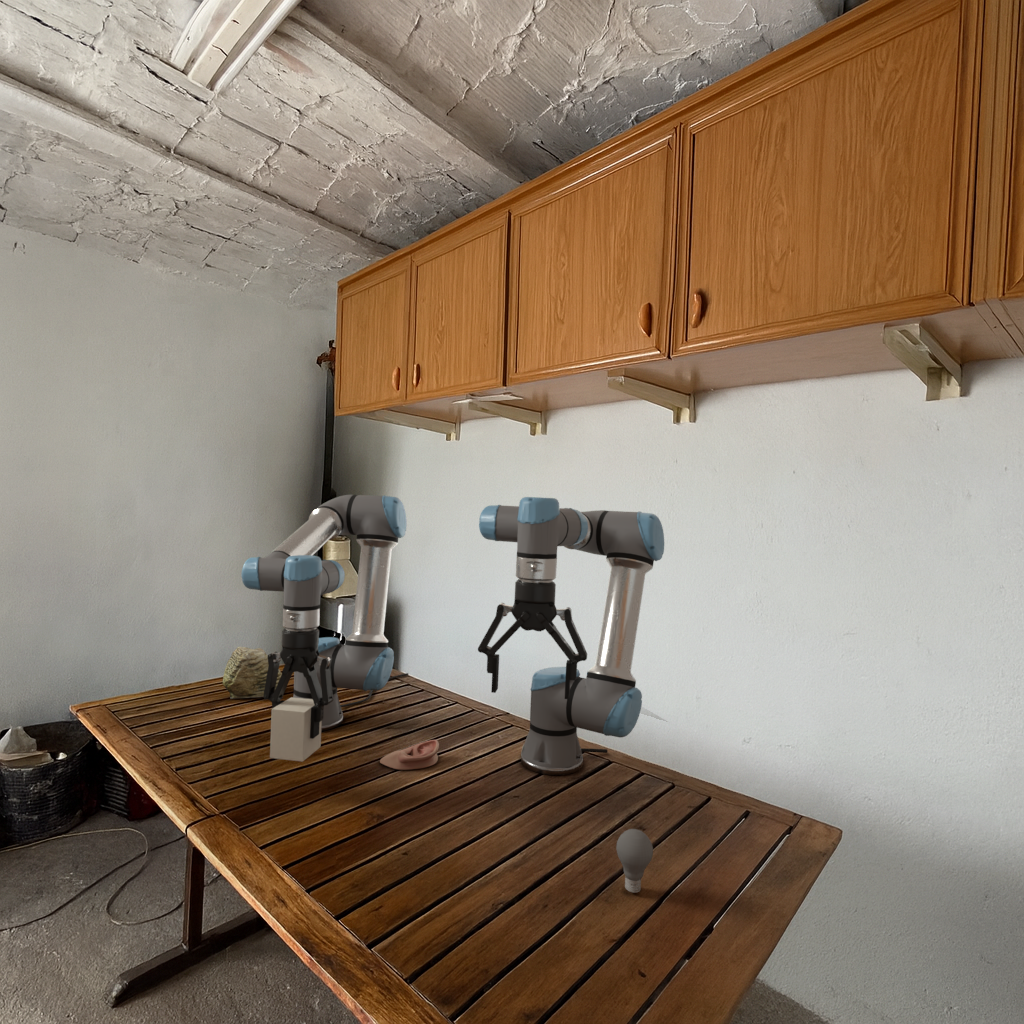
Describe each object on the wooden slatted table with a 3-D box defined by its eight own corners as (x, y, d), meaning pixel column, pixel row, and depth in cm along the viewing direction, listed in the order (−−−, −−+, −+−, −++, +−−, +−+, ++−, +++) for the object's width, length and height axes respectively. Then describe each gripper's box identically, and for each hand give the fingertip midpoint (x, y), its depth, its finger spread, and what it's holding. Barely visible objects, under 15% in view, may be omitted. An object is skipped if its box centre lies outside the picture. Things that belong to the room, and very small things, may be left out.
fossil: (218, 695, 195) (220, 647, 195) (278, 685, 208) (279, 640, 207) (228, 703, 189) (230, 653, 188) (289, 692, 201) (290, 645, 201)
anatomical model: (374, 749, 149) (393, 732, 160) (374, 766, 149) (393, 748, 161) (428, 756, 147) (443, 739, 158) (427, 774, 147) (443, 754, 158)
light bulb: (610, 879, 108) (613, 822, 108) (644, 879, 109) (647, 822, 109) (619, 902, 102) (622, 840, 102) (655, 901, 103) (658, 840, 103)
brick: (289, 743, 140) (291, 697, 140) (320, 746, 139) (322, 700, 139) (269, 758, 132) (271, 708, 132) (302, 761, 131) (304, 712, 131)
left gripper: (247, 627, 133) (243, 735, 134) (338, 635, 130) (333, 745, 131) (266, 621, 141) (262, 723, 141) (352, 628, 138) (348, 732, 138)
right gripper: (465, 578, 116) (460, 693, 116) (603, 587, 112) (597, 706, 112) (474, 573, 123) (469, 682, 123) (603, 581, 119) (598, 693, 120)
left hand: (296, 734), depth 136 cm, fingers closed on brick, 7 cm apart
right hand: (530, 693), depth 118 cm, fingers open, 13 cm apart
